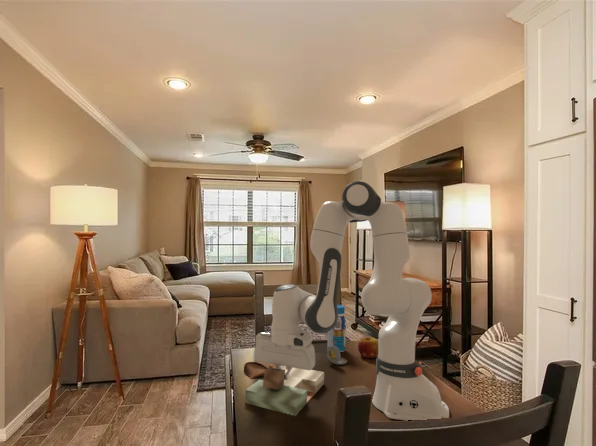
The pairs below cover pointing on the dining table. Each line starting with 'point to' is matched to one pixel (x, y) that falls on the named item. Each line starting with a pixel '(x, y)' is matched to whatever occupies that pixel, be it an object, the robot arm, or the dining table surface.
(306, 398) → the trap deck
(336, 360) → the pocket watch
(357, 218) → the robot arm
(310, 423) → the dining table surface
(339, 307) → the blue labeled canister
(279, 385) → the walnut block
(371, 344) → the fruit
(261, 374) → the sunglasses case
